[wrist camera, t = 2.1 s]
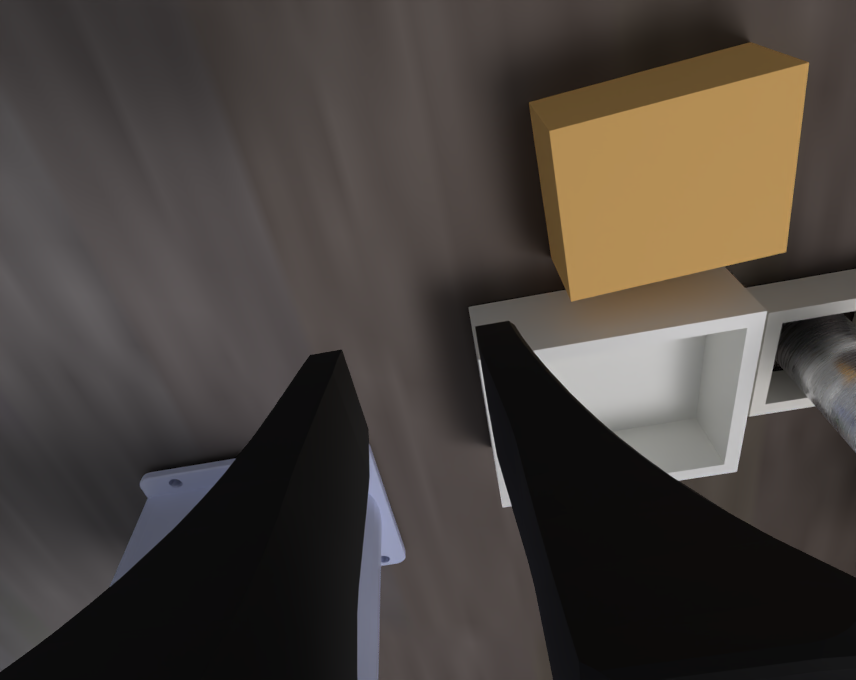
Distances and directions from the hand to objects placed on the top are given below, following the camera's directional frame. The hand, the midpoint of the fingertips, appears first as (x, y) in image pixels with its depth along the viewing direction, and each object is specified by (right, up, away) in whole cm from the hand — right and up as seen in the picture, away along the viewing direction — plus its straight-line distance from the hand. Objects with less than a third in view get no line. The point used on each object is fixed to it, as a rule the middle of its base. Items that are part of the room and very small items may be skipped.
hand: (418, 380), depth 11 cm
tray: (+6, 0, +11) cm, 13 cm away
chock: (+6, +6, +7) cm, 11 cm away
